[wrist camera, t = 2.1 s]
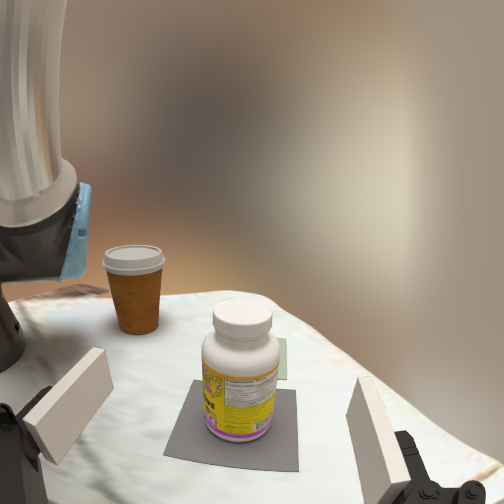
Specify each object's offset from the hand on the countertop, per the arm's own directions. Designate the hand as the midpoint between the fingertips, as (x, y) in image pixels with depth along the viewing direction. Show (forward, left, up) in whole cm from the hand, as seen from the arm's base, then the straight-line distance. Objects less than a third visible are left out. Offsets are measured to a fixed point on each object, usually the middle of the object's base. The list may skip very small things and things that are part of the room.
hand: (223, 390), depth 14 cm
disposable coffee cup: (-18, +27, -13) cm, 35 cm away
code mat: (0, +10, -13) cm, 17 cm away
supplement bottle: (0, +10, -13) cm, 17 cm away
